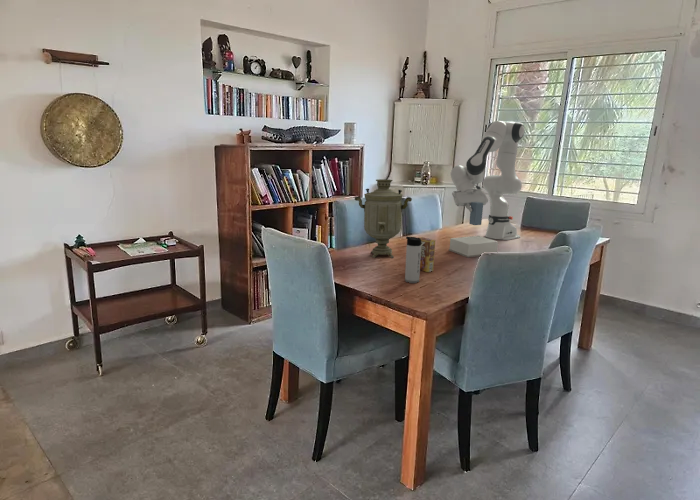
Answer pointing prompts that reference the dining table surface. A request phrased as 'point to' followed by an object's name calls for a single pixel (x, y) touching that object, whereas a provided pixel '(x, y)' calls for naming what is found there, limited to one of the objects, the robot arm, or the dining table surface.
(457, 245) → the riser
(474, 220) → the grey tall block
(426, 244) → the candy box
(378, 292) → the dining table surface
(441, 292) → the dining table surface
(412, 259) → the travel mug
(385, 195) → the samovar
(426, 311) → the dining table surface
